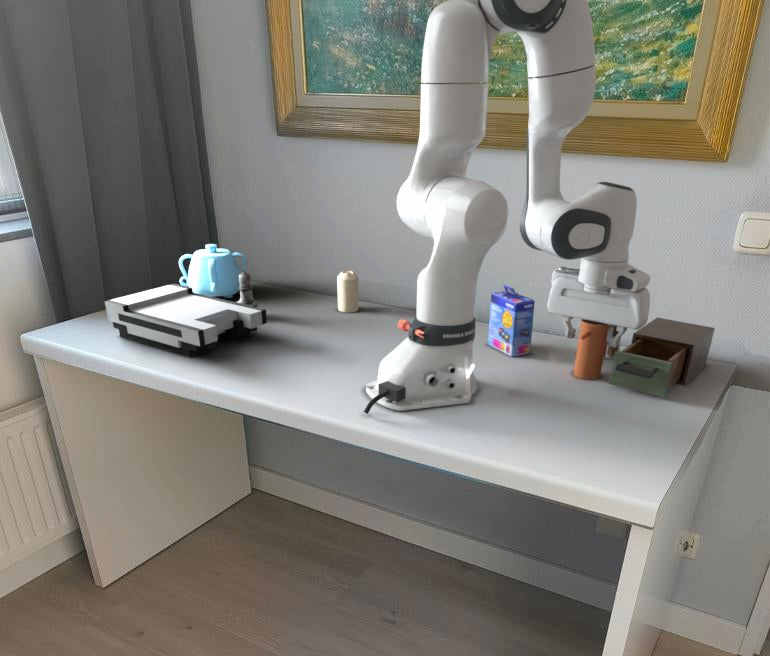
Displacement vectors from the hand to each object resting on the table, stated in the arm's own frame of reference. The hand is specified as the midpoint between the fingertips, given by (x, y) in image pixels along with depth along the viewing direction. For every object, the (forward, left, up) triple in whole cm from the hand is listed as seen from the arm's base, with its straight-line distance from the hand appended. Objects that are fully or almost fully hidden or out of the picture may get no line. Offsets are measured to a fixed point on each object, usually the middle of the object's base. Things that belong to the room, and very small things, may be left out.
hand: (591, 341), depth 147 cm
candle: (-24, +67, -7) cm, 72 cm away
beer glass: (+13, +8, -7) cm, 17 cm away
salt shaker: (-50, +73, -7) cm, 89 cm away
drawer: (+6, -11, -6) cm, 14 cm away
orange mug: (-1, -1, -7) cm, 7 cm away
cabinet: (+18, -5, -7) cm, 20 cm away
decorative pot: (-51, +98, -7) cm, 111 cm away
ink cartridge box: (-5, +21, -7) cm, 23 cm away
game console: (-68, +63, -7) cm, 93 cm away
